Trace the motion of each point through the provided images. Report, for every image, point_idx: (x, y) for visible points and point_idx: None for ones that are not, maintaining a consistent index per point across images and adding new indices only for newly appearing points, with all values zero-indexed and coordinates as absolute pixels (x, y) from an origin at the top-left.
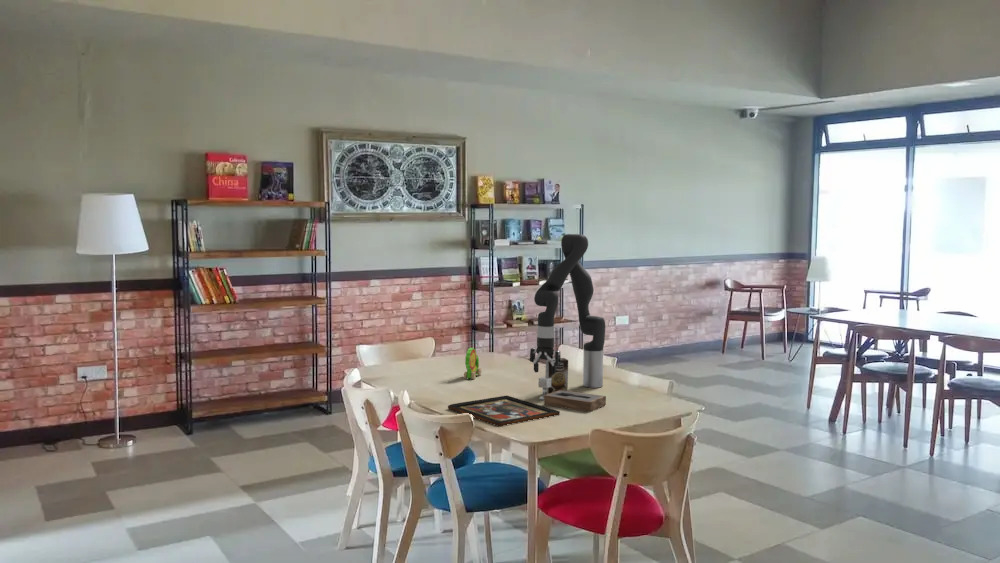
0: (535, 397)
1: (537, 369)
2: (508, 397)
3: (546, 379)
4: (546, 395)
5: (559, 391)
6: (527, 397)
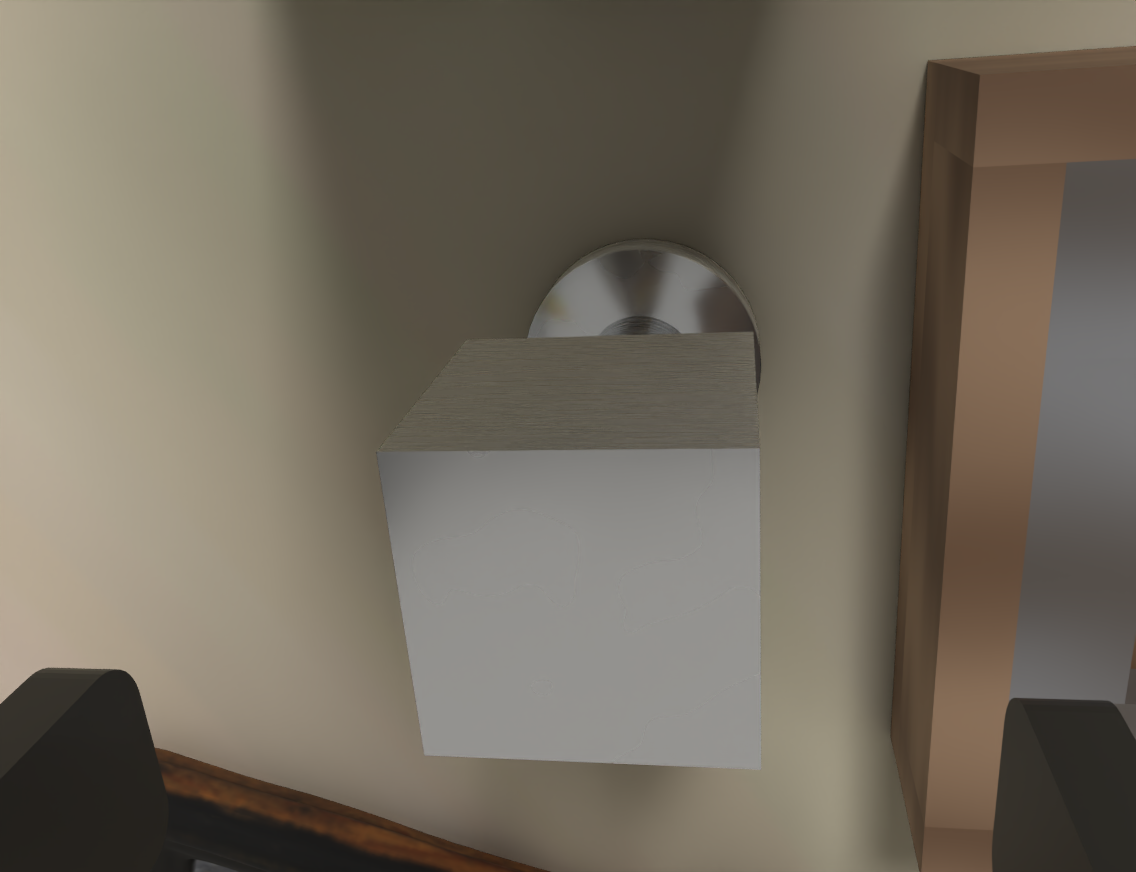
0: (375, 306)
1: (75, 809)
2: (209, 856)
3: (754, 764)
4: (968, 859)
5: (1061, 311)
6: (260, 405)
